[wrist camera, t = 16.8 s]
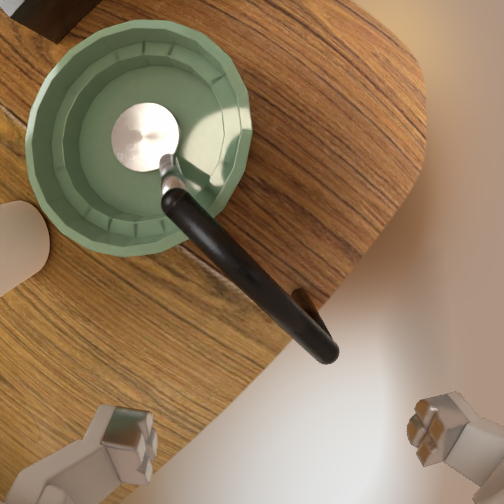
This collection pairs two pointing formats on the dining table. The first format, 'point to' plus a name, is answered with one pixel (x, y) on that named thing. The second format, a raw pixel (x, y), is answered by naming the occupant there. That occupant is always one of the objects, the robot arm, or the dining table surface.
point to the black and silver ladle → (213, 226)
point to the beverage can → (21, 243)
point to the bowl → (104, 118)
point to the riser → (48, 15)
